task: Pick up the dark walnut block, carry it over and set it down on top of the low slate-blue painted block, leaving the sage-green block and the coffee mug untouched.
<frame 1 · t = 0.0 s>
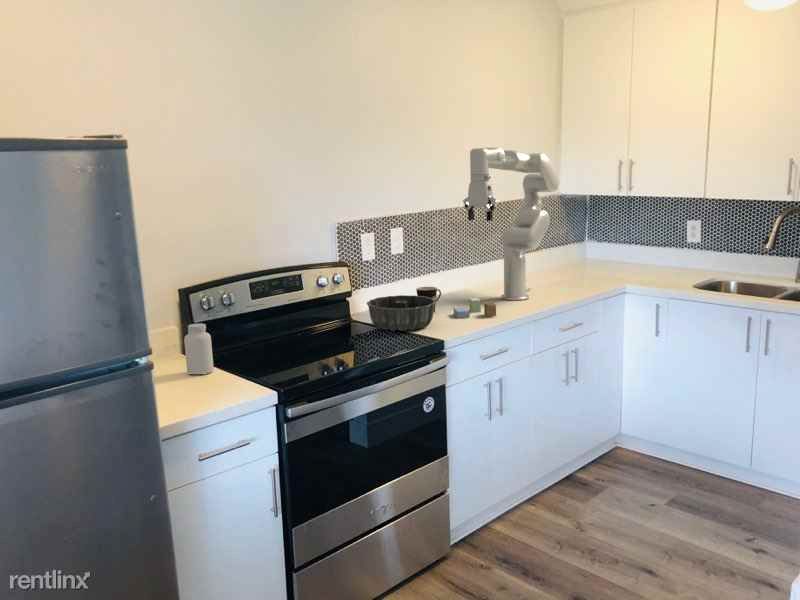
hand: (480, 220, 305), 37 cm above the worktop, tool pointing down, fingers open, 9 cm apart
bundt pan: (402, 327, 280), on the worktop
coffee mug: (430, 312, 305), on the worktop
sage block: (475, 311, 304), on the worktop
pill bottle: (200, 373, 226), on the worktop
slate block: (461, 316, 295), on the worktop
walnut block: (490, 315, 293), on the worktop
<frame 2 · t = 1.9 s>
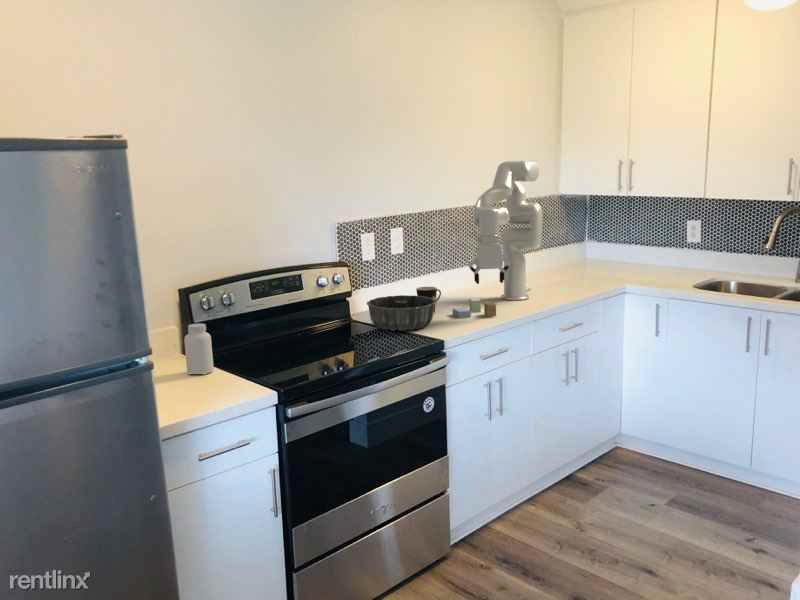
hand: (489, 282, 290), 13 cm above the worktop, tool pointing down, fingers open, 9 cm apart
nothing on the worktop moved.
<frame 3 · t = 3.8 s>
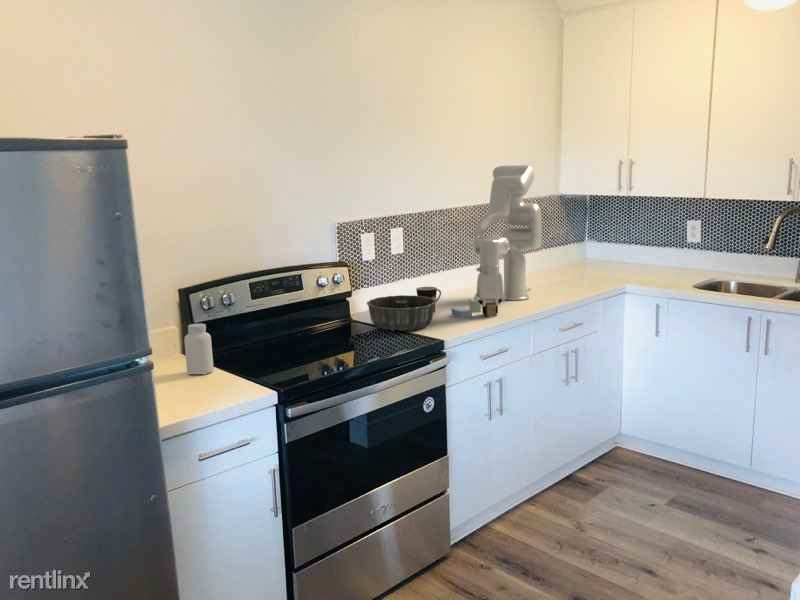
hand: (490, 315, 293), 0 cm above the worktop, tool pointing down, fingers closed on walnut block, 3 cm apart
walnut block: (489, 315, 294), on the worktop, touching gripper
everything else where it was.
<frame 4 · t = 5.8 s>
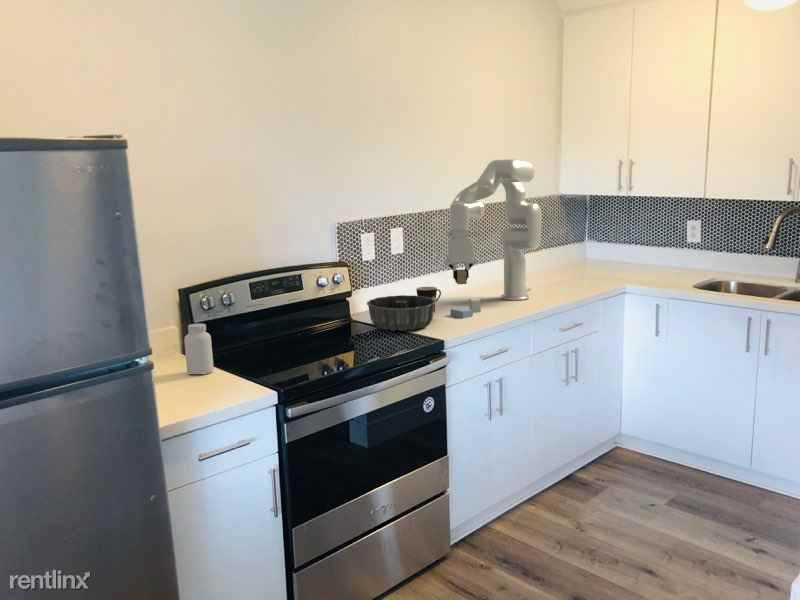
hand: (460, 279, 292), 15 cm above the worktop, tool pointing down, fingers closed on walnut block, 3 cm apart
walnut block: (460, 282, 292), point 13 cm above the worktop, touching gripper
when the fingers open (4 cm above the worktop, at t = 7.9 s): walnut block stays where it is, resting on slate block.
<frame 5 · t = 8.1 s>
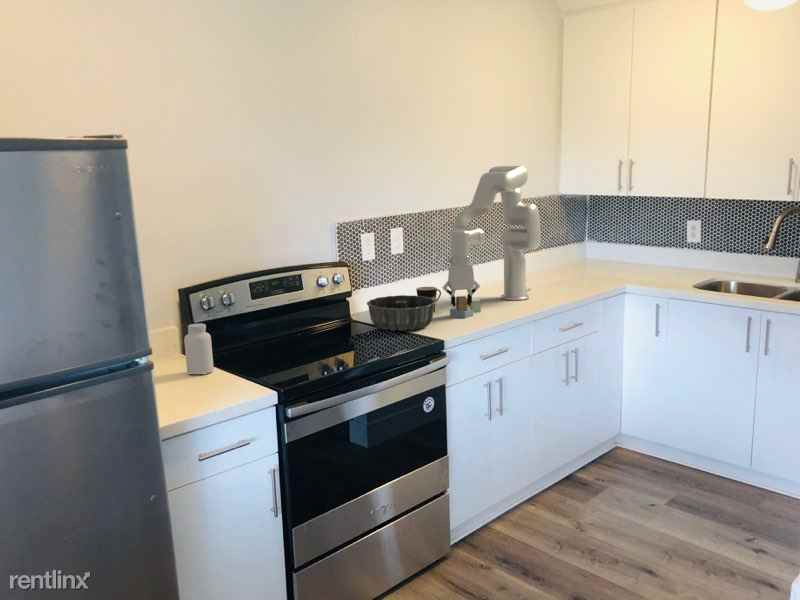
hand: (461, 305, 294), 4 cm above the worktop, tool pointing down, fingers open, 5 cm apart
slate block: (461, 316, 295), on the worktop, touching walnut block
walnut block: (461, 309, 294), point 3 cm above the worktop, touching slate block
everything else where it was.
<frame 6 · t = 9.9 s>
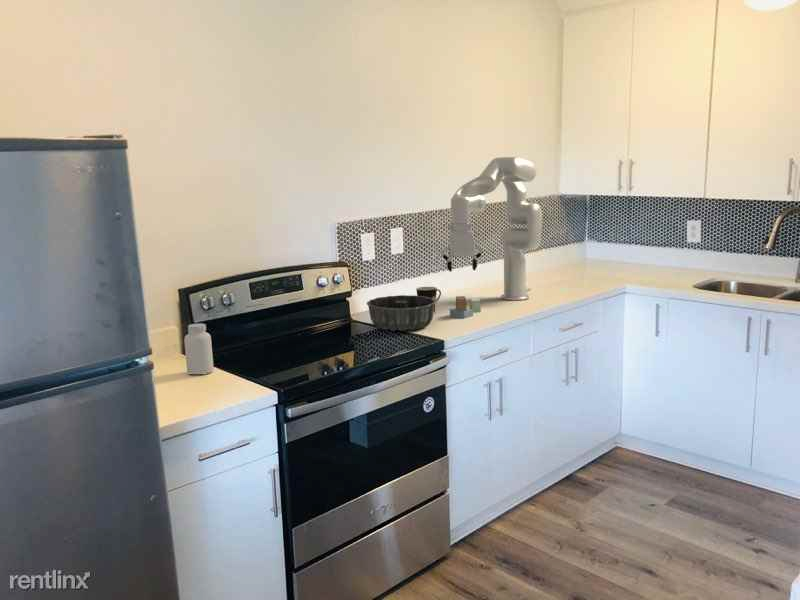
hand: (462, 270, 292), 18 cm above the worktop, tool pointing down, fingers open, 9 cm apart
nothing on the worktop moved.
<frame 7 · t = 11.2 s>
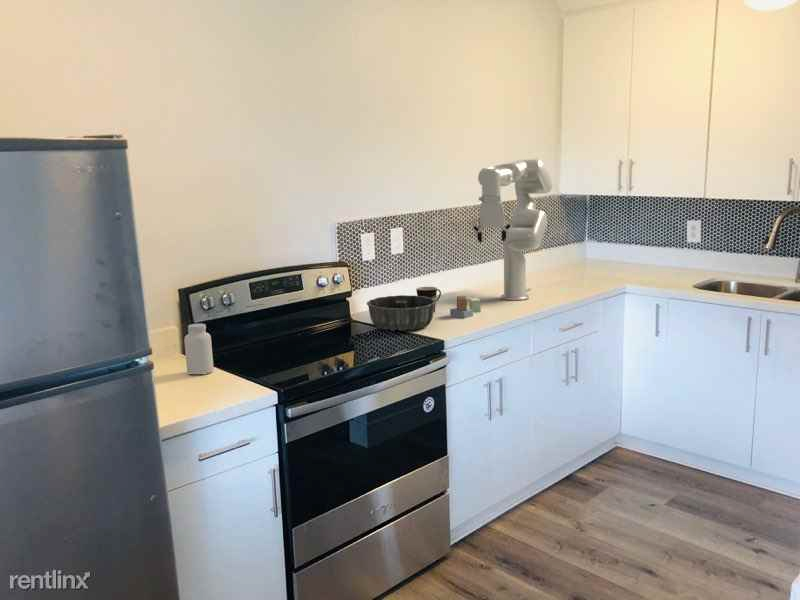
hand: (491, 241, 302), 28 cm above the worktop, tool pointing down, fingers open, 9 cm apart
nothing on the worktop moved.
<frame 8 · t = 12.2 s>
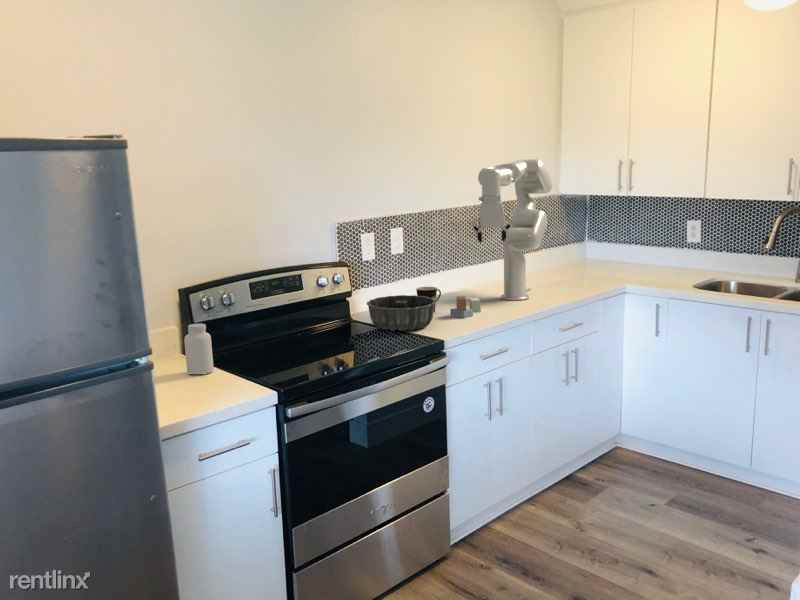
hand: (491, 241, 302), 28 cm above the worktop, tool pointing down, fingers open, 9 cm apart
nothing on the worktop moved.
at the end: walnut block 0.1 cm off-centre on the slate block, point 3.0 cm above the slate block's base; walnut block tilted 1°; sage block moved 0.1 cm from its start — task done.
